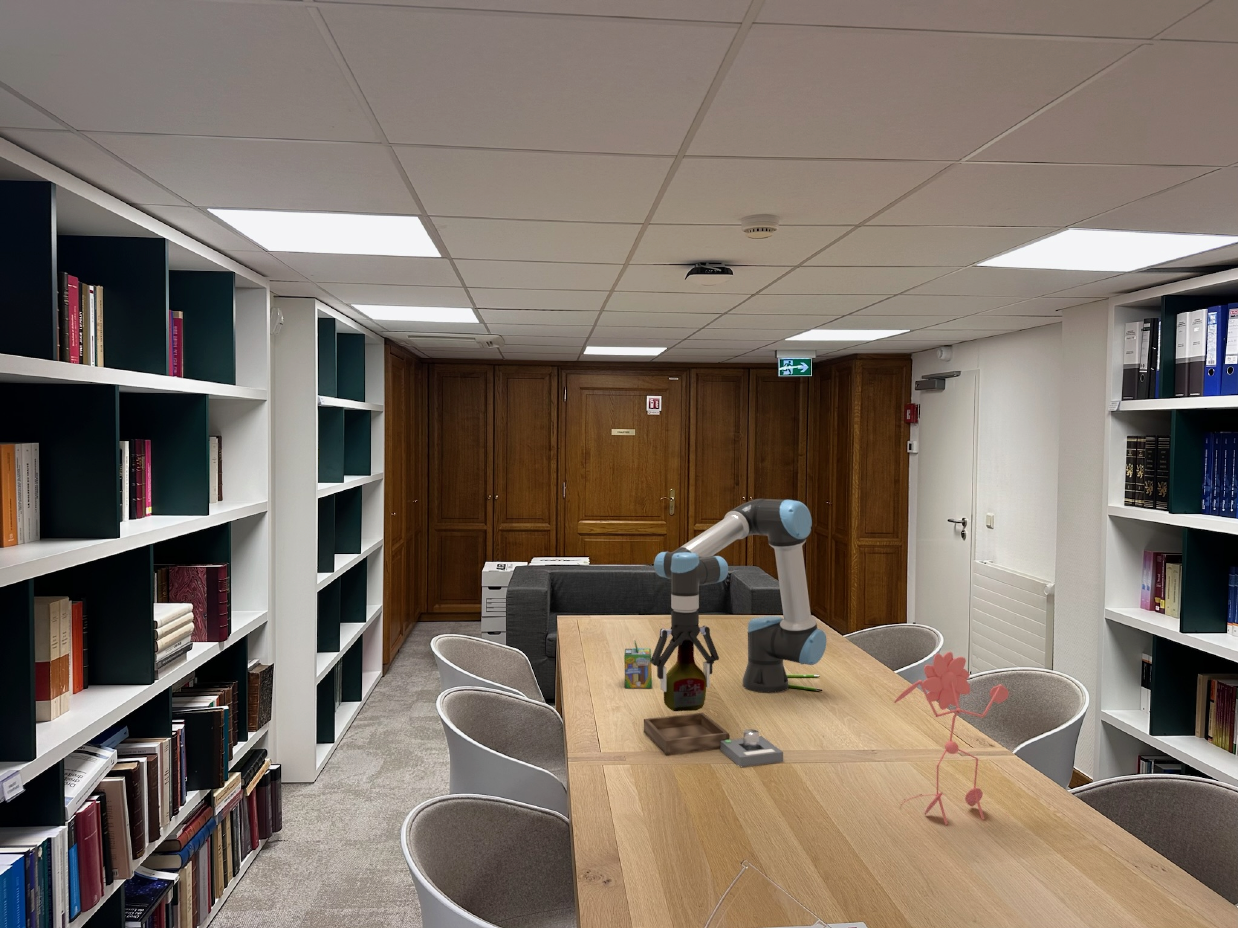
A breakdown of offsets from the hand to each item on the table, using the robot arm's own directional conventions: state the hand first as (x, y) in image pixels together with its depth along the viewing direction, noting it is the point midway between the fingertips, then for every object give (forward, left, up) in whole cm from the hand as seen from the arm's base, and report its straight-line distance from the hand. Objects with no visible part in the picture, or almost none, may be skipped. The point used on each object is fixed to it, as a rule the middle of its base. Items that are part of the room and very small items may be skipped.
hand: (685, 688), depth 222 cm
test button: (-12, +16, -12) cm, 24 cm away
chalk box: (-4, -53, -15) cm, 55 cm away
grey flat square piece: (-12, +16, -14) cm, 25 cm away
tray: (0, 0, -14) cm, 14 cm away
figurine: (-39, +57, -14) cm, 71 cm away
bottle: (0, 0, -6) cm, 6 cm away
